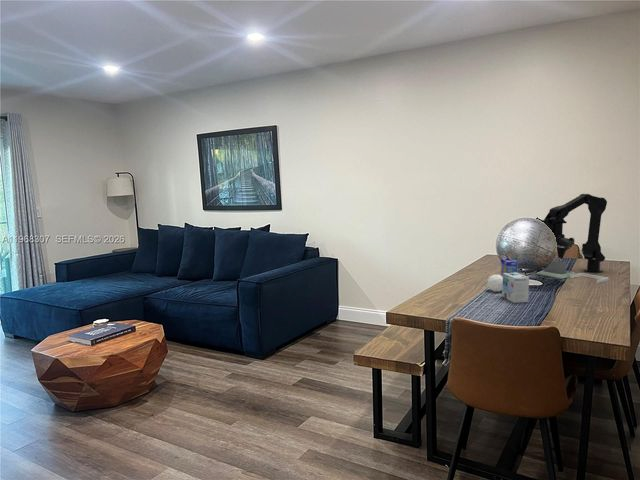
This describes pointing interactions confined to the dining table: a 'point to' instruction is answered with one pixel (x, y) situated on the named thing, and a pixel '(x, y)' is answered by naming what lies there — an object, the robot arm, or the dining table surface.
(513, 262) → the ink cartridge box
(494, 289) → the white rounded piece
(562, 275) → the tray
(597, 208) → the robot arm
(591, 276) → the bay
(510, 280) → the light bulb box
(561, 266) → the grey box with tab
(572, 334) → the dining table surface
